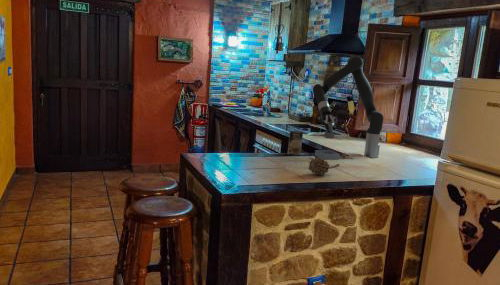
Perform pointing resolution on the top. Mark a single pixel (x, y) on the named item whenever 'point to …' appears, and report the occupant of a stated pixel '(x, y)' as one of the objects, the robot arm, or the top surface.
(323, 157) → the slate bin
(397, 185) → the top surface
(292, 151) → the coffee box
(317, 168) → the pine cone
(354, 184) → the top surface
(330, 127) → the metal strut
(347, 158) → the stud base
